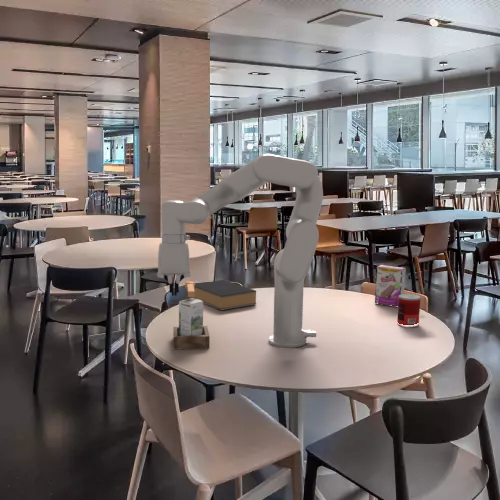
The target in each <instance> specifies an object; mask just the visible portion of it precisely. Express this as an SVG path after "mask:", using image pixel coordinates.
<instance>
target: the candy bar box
mask: <svg viewBox="0 0 500 500" xmlns="http://www.w3.org/2000/svg"><path fill="white" fill-rule="evenodd" d="M406 270H407V269H406V267H401V266H399V267H398V266H391V265H385V264H380V265H377V266H376V277H375V280H376V281H375V296H374V304H375V303H378V304H377V305H380V304H383V305H382V306H386V305H392V306H398V299H399V295H401V294H405V285H406V273H407V272H406ZM392 306H391V307H392Z"/></svg>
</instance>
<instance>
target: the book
mask: <svg viewBox="0 0 500 500" xmlns="http://www.w3.org/2000/svg"><path fill="white" fill-rule="evenodd" d="M194 291H195V297H194V299H199V300H201V301H203V304H204V305H207V306H210V307H212V308H215V309H218V310H219V311H225V310H231V309H236V308H242V307H248V306H254V305H257V290H255V289H253V288H249V287H246V286H243V285H239V284H236V283H234V282H230V281H228V280H225V279H220V280H212V281H206V282H198V283H195V288H194Z"/></svg>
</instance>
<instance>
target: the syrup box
mask: <svg viewBox="0 0 500 500" xmlns="http://www.w3.org/2000/svg"><path fill="white" fill-rule="evenodd" d="M203 326H204V303H203V301H201V300H199V299H194V298H190V299H182V300H179V301H178V327H179V336H196V335H203Z"/></svg>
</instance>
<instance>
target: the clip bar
mask: <svg viewBox="0 0 500 500" xmlns="http://www.w3.org/2000/svg"><path fill="white" fill-rule="evenodd" d="M184 283H185V284H184V285H185V286H184V289H187V291H188V297H195V291H194V288H195V284H196V283H195V281H185V282H184Z"/></svg>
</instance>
